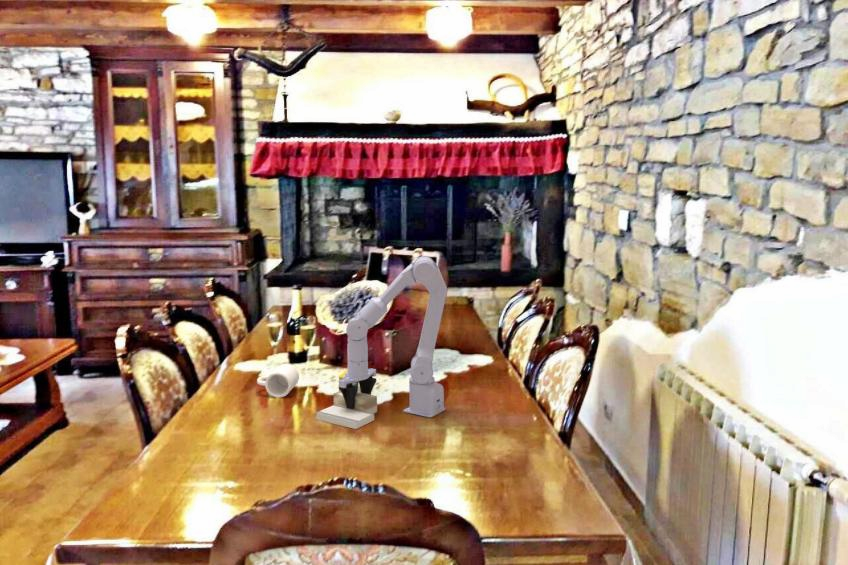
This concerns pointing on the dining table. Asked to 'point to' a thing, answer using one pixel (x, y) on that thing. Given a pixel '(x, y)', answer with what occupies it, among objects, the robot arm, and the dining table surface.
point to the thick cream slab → (359, 401)
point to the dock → (345, 416)
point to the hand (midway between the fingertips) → (358, 405)
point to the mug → (280, 380)
